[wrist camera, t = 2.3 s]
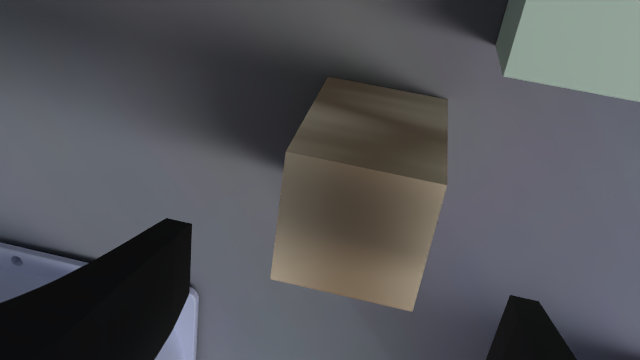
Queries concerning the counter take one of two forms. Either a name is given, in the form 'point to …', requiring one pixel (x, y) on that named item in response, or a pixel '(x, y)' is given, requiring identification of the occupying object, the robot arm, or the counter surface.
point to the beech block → (362, 193)
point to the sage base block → (573, 45)
